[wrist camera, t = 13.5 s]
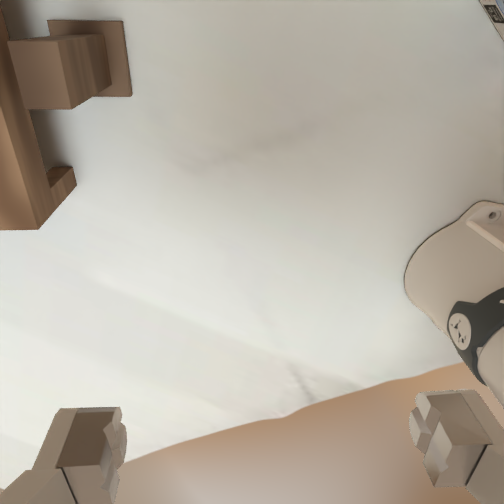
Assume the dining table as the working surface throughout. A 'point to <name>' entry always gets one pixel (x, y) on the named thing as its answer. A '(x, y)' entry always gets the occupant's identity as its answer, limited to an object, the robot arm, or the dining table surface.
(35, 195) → the wooden footstool
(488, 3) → the light bulb box
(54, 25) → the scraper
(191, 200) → the dining table surface
